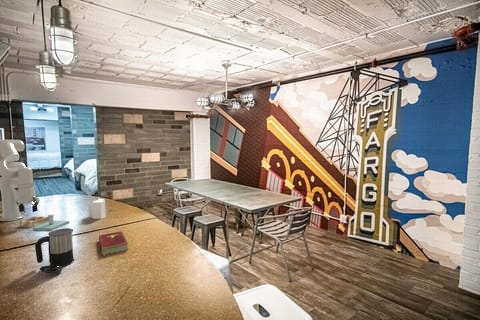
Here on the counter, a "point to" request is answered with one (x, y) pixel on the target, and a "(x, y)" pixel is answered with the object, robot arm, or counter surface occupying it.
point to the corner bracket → (97, 209)
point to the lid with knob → (51, 224)
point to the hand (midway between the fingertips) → (28, 211)
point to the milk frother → (56, 250)
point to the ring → (33, 221)
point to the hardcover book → (113, 242)
